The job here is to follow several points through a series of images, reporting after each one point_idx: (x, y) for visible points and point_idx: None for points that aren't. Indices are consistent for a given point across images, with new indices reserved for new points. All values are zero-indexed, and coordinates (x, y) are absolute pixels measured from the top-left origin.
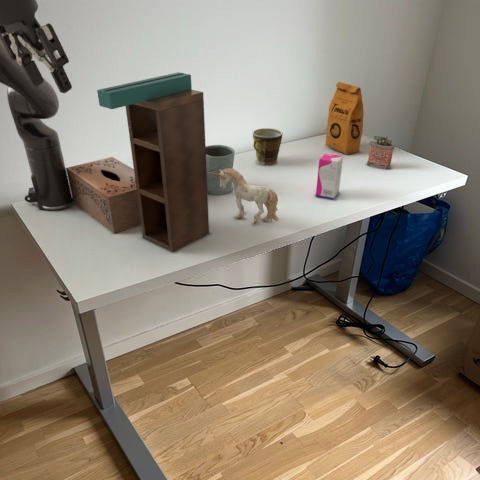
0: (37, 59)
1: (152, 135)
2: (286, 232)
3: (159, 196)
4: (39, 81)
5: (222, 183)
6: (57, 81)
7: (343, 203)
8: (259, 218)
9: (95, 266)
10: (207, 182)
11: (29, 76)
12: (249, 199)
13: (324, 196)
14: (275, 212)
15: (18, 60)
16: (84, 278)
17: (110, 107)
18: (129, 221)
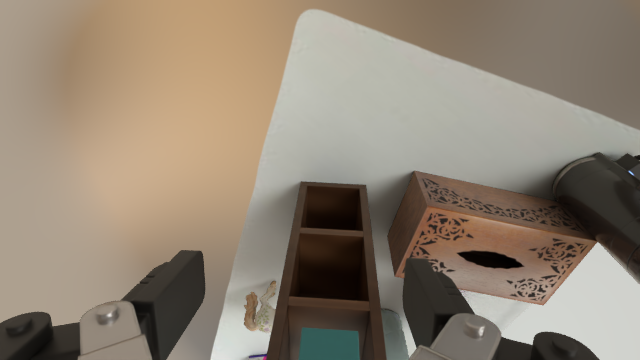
0: (139, 339)
1: None
2: (232, 284)
3: (313, 235)
4: (405, 289)
5: None
6: (157, 276)
7: (235, 354)
8: (267, 289)
9: (361, 89)
10: (386, 323)
11: (419, 280)
12: None
13: (259, 356)
14: (247, 303)
15: (475, 335)
16: (347, 54)
17: (305, 331)
18: (406, 200)
